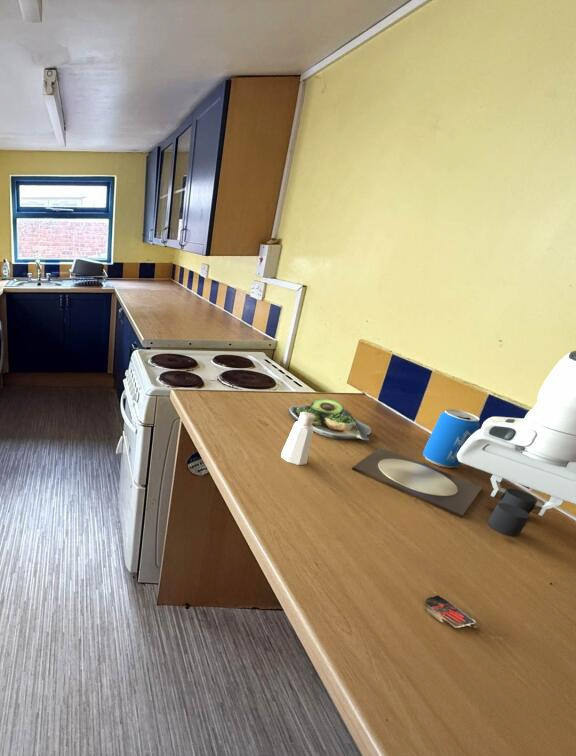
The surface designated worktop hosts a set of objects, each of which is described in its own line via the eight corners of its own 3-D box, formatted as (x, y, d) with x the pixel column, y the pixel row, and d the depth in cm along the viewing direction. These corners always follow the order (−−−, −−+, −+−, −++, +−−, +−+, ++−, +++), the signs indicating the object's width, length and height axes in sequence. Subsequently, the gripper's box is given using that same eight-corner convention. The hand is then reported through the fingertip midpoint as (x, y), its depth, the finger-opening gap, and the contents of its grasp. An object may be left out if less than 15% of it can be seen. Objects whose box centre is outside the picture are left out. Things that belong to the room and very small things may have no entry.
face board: (481, 489, 82) (483, 486, 82) (461, 518, 73) (463, 514, 73) (379, 449, 95) (380, 446, 95) (351, 469, 87) (352, 466, 86)
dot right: (520, 530, 71) (532, 512, 69) (516, 539, 69) (528, 521, 67) (489, 517, 74) (500, 499, 72) (485, 525, 72) (495, 507, 70)
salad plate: (394, 445, 98) (402, 429, 96) (329, 447, 95) (335, 430, 93) (335, 410, 115) (340, 395, 113) (278, 410, 113) (282, 395, 111)
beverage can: (430, 466, 90) (452, 418, 85) (415, 451, 95) (436, 406, 91) (464, 472, 88) (490, 423, 83) (448, 457, 94) (471, 411, 89)
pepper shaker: (275, 456, 90) (289, 412, 85) (287, 449, 93) (300, 406, 89) (300, 468, 86) (315, 422, 82) (311, 460, 89) (327, 416, 85)
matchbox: (433, 593, 57) (434, 591, 57) (480, 624, 53) (482, 621, 53) (417, 606, 55) (418, 603, 55) (465, 639, 51) (467, 636, 51)
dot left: (528, 514, 75) (539, 497, 74) (524, 522, 73) (535, 504, 72) (498, 502, 78) (508, 485, 77) (494, 510, 76) (504, 492, 75)
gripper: (653, 464, 64) (604, 532, 69) (480, 413, 79) (450, 472, 84) (653, 476, 60) (601, 547, 66) (472, 421, 76) (441, 482, 81)
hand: (515, 504), depth 75 cm, fingers closed on dot left, 4 cm apart
